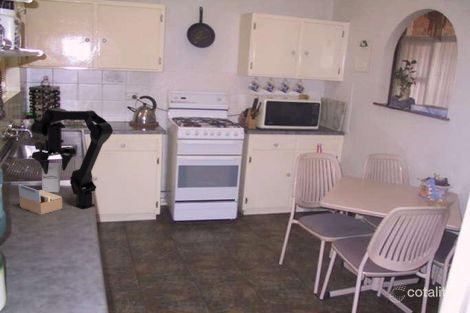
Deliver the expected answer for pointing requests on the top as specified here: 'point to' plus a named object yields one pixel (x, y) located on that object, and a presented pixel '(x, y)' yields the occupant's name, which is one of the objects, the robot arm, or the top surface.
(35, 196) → the flap
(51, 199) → the carton
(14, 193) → the top surface
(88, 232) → the top surface
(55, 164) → the supplement box
